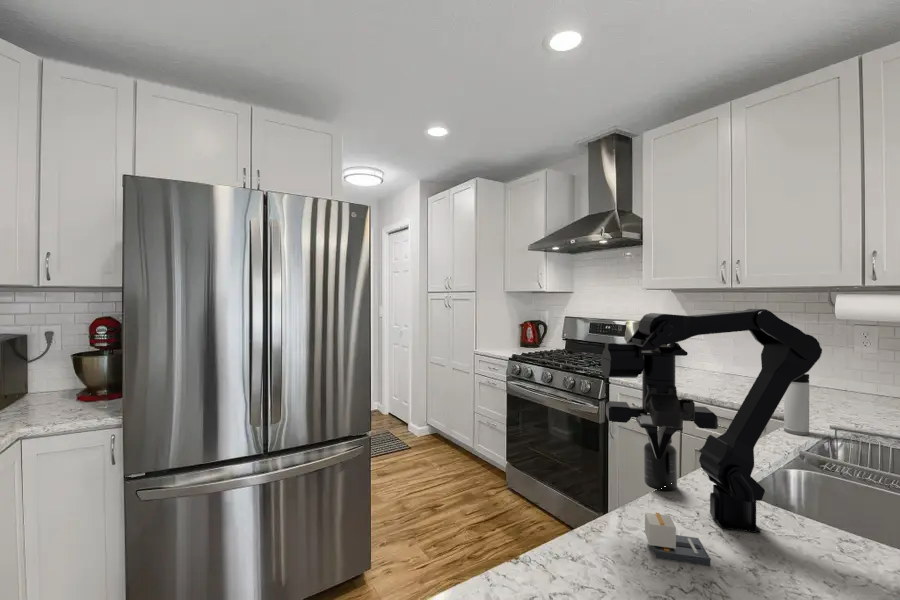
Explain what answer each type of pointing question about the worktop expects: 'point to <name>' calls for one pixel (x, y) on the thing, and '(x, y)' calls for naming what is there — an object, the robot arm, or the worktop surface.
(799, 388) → the travel mug
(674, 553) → the panel
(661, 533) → the block
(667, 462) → the supplement bottle
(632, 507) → the worktop surface
